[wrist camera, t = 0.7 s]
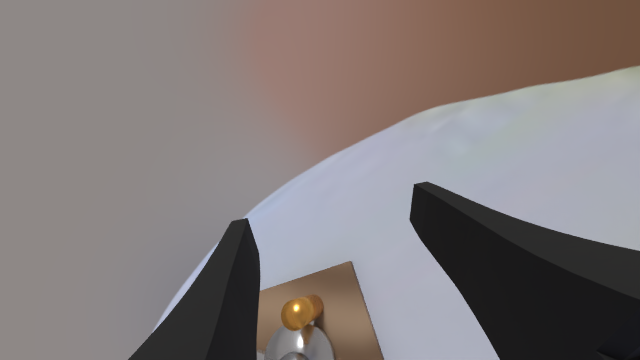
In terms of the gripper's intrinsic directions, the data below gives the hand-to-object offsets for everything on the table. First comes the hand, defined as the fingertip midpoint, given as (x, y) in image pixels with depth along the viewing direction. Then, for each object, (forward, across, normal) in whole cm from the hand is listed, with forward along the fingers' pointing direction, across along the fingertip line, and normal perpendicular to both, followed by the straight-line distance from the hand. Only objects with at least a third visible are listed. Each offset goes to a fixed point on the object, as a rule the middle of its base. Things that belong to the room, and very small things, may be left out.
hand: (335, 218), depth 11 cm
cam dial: (+2, +4, +17) cm, 18 cm away
